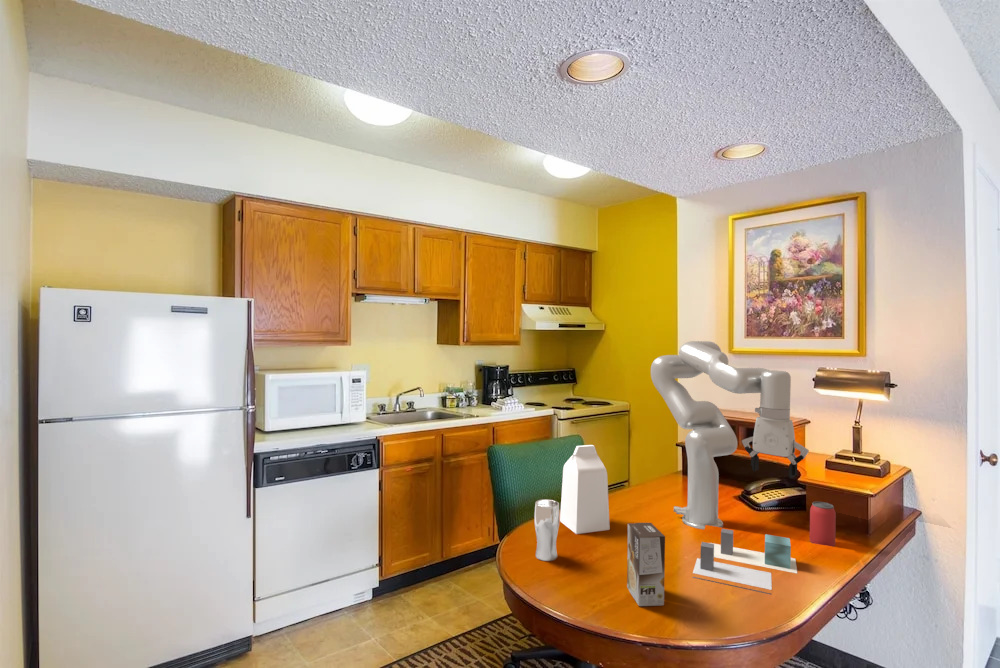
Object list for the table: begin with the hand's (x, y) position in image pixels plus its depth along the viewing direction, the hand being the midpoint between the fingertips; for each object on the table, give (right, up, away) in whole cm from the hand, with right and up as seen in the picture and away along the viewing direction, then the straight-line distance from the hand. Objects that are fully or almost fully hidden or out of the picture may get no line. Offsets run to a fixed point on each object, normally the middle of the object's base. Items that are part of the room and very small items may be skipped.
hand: (773, 473), depth 147 cm
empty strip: (-18, -23, -14) cm, 33 cm away
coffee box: (-43, -23, -24) cm, 55 cm away
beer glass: (-65, -23, -3) cm, 69 cm away
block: (-3, -22, -7) cm, 23 cm away
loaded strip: (-9, -23, -5) cm, 25 cm away
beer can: (+20, -24, +9) cm, 32 cm away
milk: (-50, -23, +21) cm, 59 cm away
